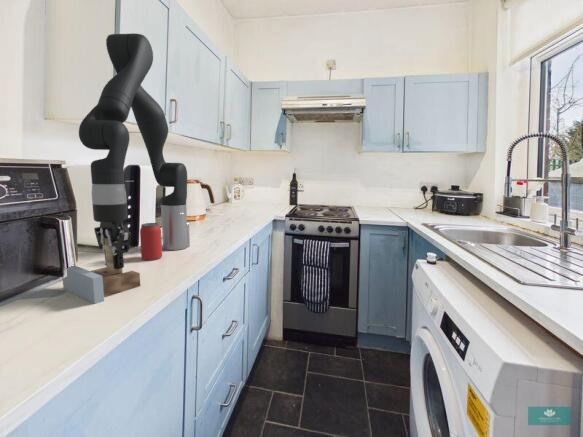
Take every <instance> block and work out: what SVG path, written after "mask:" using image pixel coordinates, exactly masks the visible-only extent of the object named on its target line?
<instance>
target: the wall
mask: <svg viewBox="0 0 583 437" xmlns="http://www.w3.org/2000/svg"><path fill="white" fill-rule="evenodd" d="M73 265H74V266H71V267H68V268H66V269H67V277H65V278H62V286H63V287H62V288H63V289H64V290H66V291H68V292H70V293H71V294H74V295H76V296H78V297H80V298H82V299H84V300H86V301H88V302H90V303H92V304H94V305H95V304H99V303H102V302H104V301H105V297H104V291H103V278H102V276H101V275H98V274H96V273H93V272H91V271H92V270H88V269H85V268H83V267H80V266H77V265H75V264H73Z"/></svg>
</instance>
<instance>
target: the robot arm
mask: <svg viewBox="0 0 583 437" xmlns="http://www.w3.org/2000/svg"><path fill="white" fill-rule="evenodd" d="M105 45H106V51H107V54H108V57H109V60H110V61H111V64H112V66H113V68H114V70H115V73H116V74H115V75H114V76H113V77H112V78H111V79H109V80H108V81H107V82H106V84H105V86H103V89H102V91H101V93H100V95H99V99H98V101H97V103H96V105H95V106H94V107H93V108H92V109H91V110H90V111H89V112H88V113H87V115H85V117H84V118H83V119H82V121H81V122H80V125H79V128H78V138H79V140H80V142H81V144H82V145H83V146H84V147H86V148H87V149H90V150H94V151H95V150H96V151H98V150H99V151H100V150H101V151H104V150H105V151H108V153H107V156H105V158H100V159H95V160H93V161H91V162H90V176H91V203H92V212H93V213H92V216H93V220H94V222H97V223H99V226H95V227H94V234H95V237H96V242H97V245H98V248H99V250H102V252H103V253H104V259H105V260H104V263H105V266H106V267H107V265H106V253H105V240H104V238H108V242H109V246H110V247H112V252H113V263H114V269H121V268H122V269H123V268H125V264H124V263H125V262H124V254H126V253H129V250H130V243H131V239H132V232H131V231H125V226H124V223H123V222H124V221H125V220H128V219H129V218H128V217H129V216H128V213H129V212H128V205H127V204H128V201H127V190H126V185H125V173H124V172H125V170H124V168H125V161H126V157H127V152H128V149H129V145H130V132H129V130H128V128H127V126H126V125H125V122H126V121H127V120H128V117H129V115H130V111H131V110H132V113H133V116H134V119H135V121H136V125H137V127H138V130H139V132H140V134H141V137H142V141H143V142H144V145H145V148H146V150H147V154H148V157H149V160H150V161H149V162H150V165H151V168H152V172H153V176H154V178H155V181H156V183H157V185H159V186H160V187H162V188H163V187H165V188H173V191H172V192H171V193H170V194H168V195H163V196H162V197H161V198H160V209H161V210H160V212H161V213H160V214H161V238H162V250H166V251H178V250H184V249H187V248H188V247H190V246H191V245H190V243H191V242H190V240H191V239H190V223H189V222H188V215H187V212H188V211H187V198H188V170H187V167H186V166H185V164H184V163H182V162H166V161H165V158H164V154H163V150H164V147H165V143H166V141H167V139H168V136H169V126H168V122H167V119H166V115H165V111H164V110H163V108H162V107H161V105H160V104H159V103H158V101H156V100H155V99H154V98H153V97H152V95H150V94H149V93H148V91H146V89H144V87H143V86H142V83H143V81H145V78H146V76H147V75H148V73H149V71H150V70H151V67H152V66H153V62H154V53H153V52H154V50H153V48H152V44H151V43H150V40H148V38H147V36H146V35H143V34H141V33H112V34H108V35H107V36H106V39H105ZM115 241H118V243H114V242H115ZM116 246H117V250H116Z"/></svg>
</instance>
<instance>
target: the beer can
mask: <svg viewBox="0 0 583 437" xmlns="http://www.w3.org/2000/svg"><path fill="white" fill-rule="evenodd" d="M140 226H141V227H140V230H139V237H140V238H139V239H140V254H141V256H140V257H141V259H142V260H143V261H157V260H160V259H161V258H162V257H163V239H162V227H161V226H160V223H159V222H147V223H142V224H141V225H140Z"/></svg>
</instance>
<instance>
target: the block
mask: <svg viewBox="0 0 583 437" xmlns="http://www.w3.org/2000/svg"><path fill="white" fill-rule="evenodd" d="M90 271H91V272H93V273H96V274H98V275H101V276H102V278H103V291H104V298H107V297H109V296H113V295H116V294H119V293H122V292H125V291H129V290H131V289H136V288H139V287H141V274H140V272H137V271H135V270H128V271H126V272H123V273H121V274H118V275H114V276H112V275H110V274H107V266H106V267H100V268H97V269H93V270H90Z"/></svg>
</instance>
